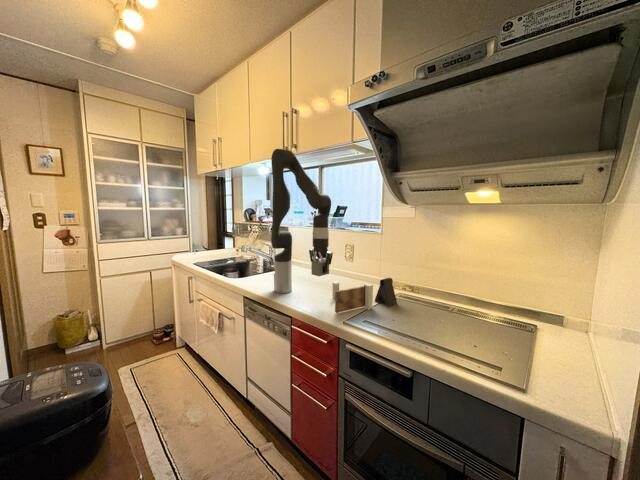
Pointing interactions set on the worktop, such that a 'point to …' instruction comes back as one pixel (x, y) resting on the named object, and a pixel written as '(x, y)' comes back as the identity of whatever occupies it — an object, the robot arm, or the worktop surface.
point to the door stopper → (386, 293)
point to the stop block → (318, 268)
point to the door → (349, 299)
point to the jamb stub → (335, 288)
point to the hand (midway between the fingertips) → (320, 271)
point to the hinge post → (368, 296)
